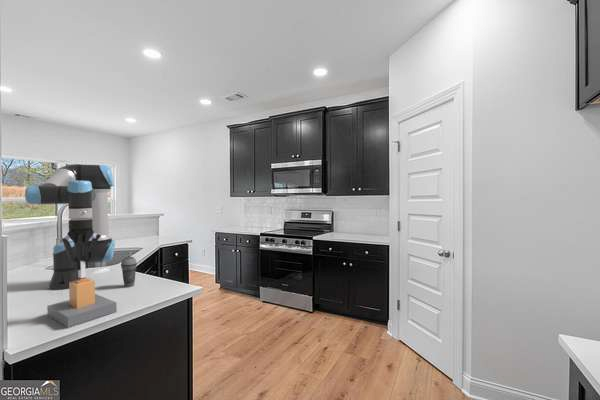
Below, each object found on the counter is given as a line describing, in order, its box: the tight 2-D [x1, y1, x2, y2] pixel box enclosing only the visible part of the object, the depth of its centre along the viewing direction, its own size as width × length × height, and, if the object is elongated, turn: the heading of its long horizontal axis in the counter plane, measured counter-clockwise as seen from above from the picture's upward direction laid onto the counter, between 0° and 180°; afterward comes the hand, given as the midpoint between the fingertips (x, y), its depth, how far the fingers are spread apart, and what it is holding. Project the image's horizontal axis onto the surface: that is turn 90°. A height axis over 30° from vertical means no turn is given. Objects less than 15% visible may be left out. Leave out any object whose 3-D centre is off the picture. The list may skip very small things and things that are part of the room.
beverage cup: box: [120, 247, 138, 288], centre depth 145 cm, size 7×7×20 cm
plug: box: [68, 277, 96, 308], centre depth 111 cm, size 7×6×12 cm
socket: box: [46, 293, 118, 329], centre depth 111 cm, size 20×16×4 cm
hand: (81, 277), depth 111 cm, fingers closed
